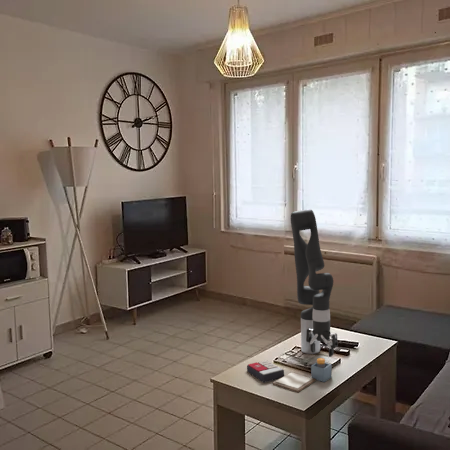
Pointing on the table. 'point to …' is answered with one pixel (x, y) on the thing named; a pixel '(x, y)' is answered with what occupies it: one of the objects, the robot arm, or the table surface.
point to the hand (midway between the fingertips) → (321, 354)
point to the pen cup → (321, 372)
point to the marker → (321, 362)
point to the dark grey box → (265, 371)
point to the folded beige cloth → (294, 381)
